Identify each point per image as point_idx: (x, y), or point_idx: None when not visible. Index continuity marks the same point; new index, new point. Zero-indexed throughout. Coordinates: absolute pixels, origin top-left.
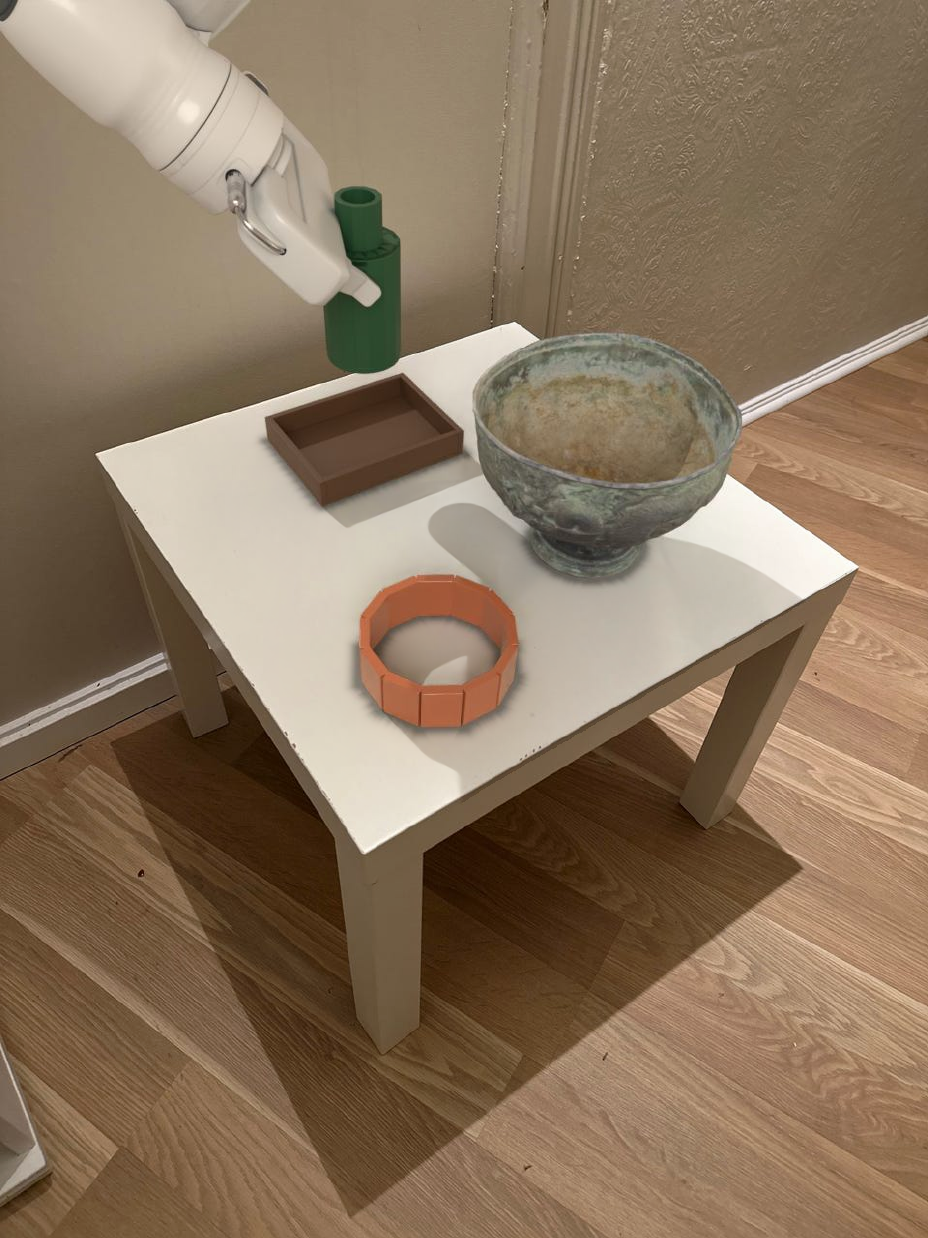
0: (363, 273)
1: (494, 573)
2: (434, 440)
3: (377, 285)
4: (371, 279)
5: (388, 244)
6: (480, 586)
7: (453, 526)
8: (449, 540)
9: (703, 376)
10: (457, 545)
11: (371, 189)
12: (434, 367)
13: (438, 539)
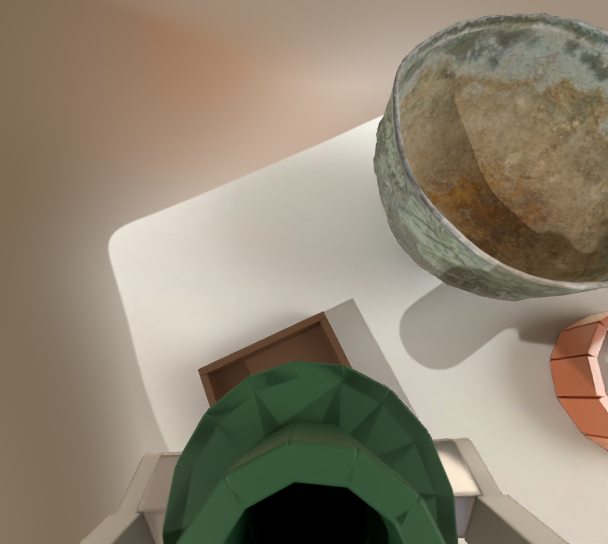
0: (501, 509)
1: (496, 314)
2: (340, 346)
3: (457, 448)
4: (463, 471)
5: (338, 404)
6: (598, 331)
7: (434, 343)
8: (455, 350)
9: (469, 29)
10: (462, 343)
11: (228, 503)
12: (160, 327)
13: (454, 361)
